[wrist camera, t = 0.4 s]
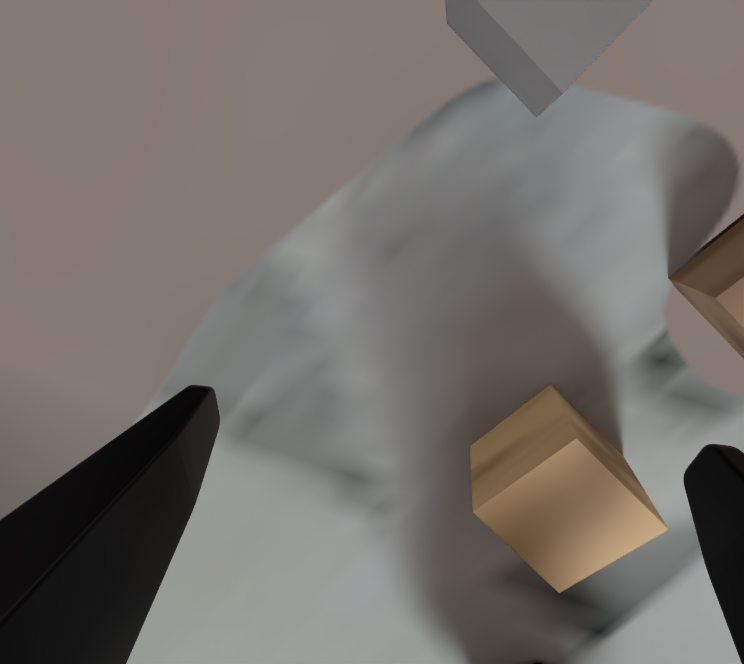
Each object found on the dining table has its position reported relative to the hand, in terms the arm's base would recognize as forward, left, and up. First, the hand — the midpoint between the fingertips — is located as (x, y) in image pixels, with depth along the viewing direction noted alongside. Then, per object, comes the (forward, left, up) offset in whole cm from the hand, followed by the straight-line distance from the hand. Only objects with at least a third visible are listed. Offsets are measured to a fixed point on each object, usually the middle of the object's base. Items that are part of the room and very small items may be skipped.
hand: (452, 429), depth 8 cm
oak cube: (-9, +3, -13) cm, 16 cm away
